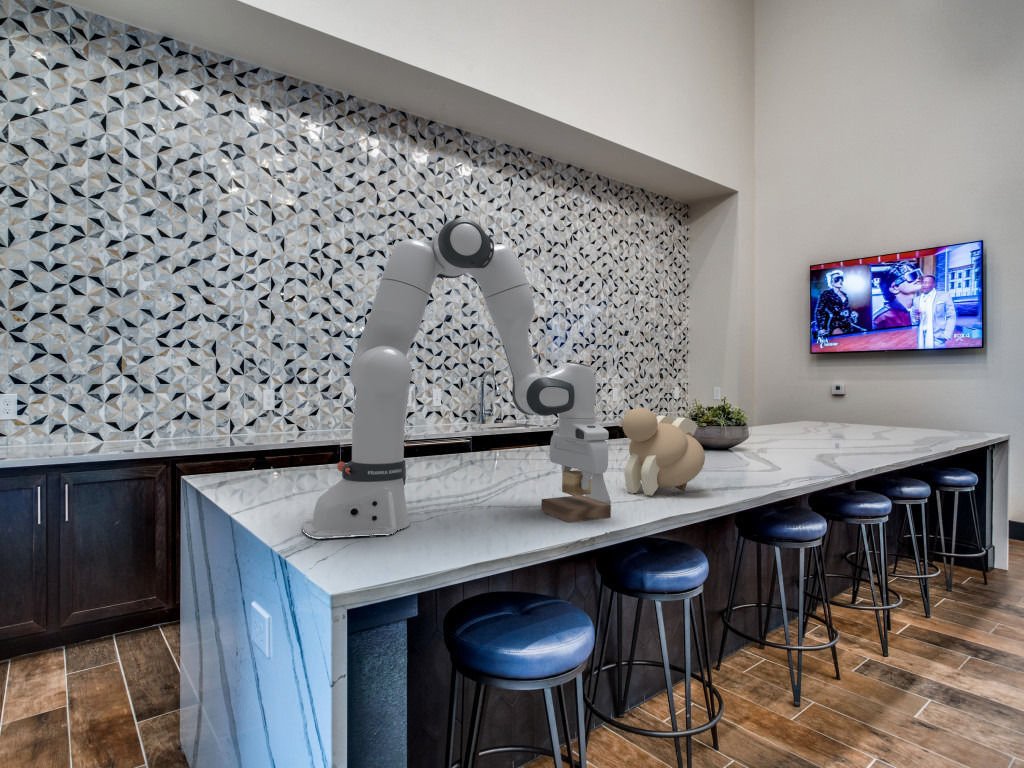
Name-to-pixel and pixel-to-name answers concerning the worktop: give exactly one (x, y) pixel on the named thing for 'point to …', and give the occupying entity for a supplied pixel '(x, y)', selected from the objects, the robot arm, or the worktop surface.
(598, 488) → the flask
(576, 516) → the walnut base
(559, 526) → the worktop surface
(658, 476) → the tan rounded figure
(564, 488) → the oak cube
